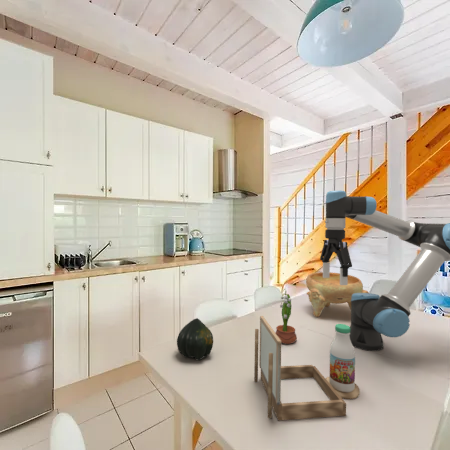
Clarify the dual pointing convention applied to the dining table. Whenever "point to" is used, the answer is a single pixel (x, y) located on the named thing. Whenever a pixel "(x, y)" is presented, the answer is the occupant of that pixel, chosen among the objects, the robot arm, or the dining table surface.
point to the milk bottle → (342, 360)
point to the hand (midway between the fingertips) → (334, 281)
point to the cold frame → (307, 409)
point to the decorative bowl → (331, 290)
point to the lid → (268, 345)
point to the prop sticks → (270, 373)
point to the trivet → (348, 395)
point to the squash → (195, 340)
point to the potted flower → (285, 331)
